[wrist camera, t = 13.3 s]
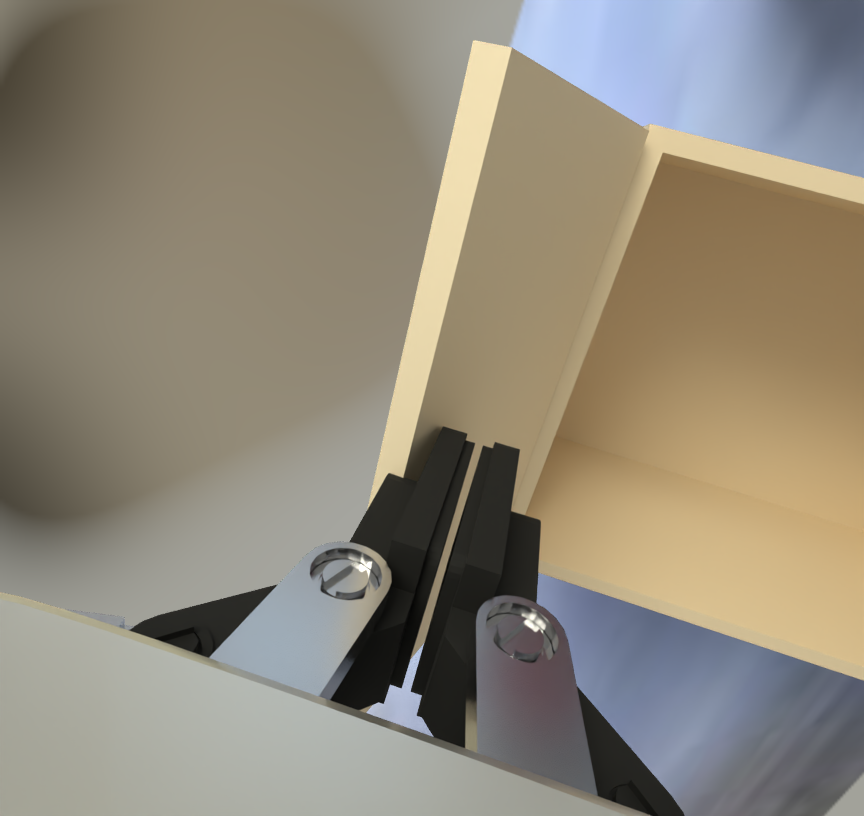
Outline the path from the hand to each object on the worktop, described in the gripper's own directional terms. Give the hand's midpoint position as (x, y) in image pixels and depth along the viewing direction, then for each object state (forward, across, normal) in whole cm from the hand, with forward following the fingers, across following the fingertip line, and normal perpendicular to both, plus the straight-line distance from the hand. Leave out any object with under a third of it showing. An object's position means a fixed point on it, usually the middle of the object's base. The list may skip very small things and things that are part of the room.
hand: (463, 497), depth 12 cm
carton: (+20, -12, 0) cm, 24 cm away
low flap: (+3, 0, 0) cm, 3 cm away
